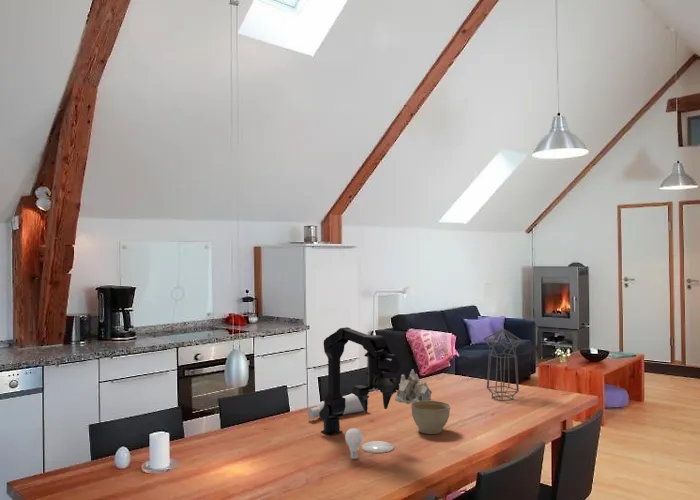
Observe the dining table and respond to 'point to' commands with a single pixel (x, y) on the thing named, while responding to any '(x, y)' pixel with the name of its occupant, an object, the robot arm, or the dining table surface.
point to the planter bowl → (430, 415)
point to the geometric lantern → (504, 361)
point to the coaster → (377, 447)
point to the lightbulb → (354, 441)
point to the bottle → (350, 403)
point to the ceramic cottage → (412, 390)
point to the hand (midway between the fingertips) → (375, 410)
